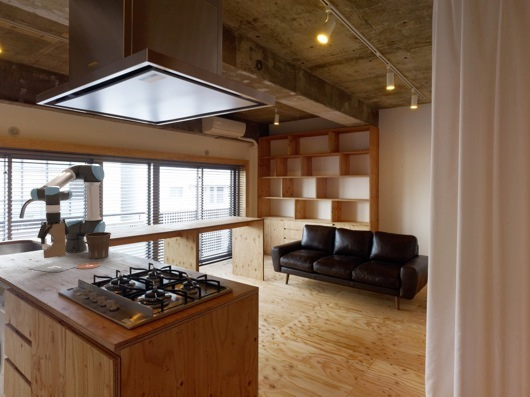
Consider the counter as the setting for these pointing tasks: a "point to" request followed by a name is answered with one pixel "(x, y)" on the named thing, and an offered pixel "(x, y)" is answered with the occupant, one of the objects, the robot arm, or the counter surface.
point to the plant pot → (98, 244)
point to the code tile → (54, 267)
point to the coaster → (88, 265)
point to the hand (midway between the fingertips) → (54, 247)
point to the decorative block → (56, 241)
